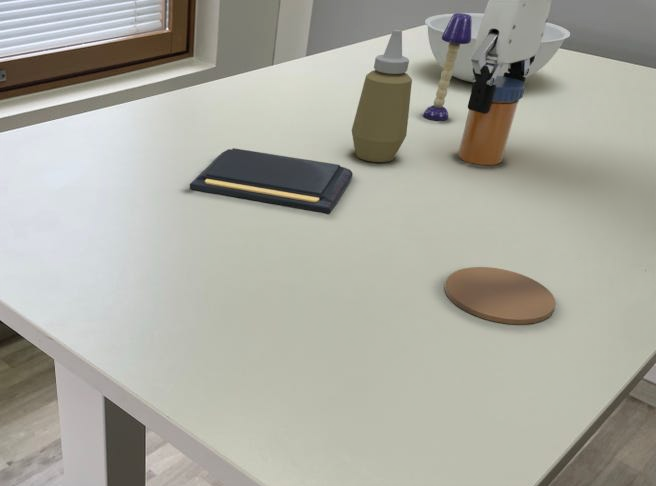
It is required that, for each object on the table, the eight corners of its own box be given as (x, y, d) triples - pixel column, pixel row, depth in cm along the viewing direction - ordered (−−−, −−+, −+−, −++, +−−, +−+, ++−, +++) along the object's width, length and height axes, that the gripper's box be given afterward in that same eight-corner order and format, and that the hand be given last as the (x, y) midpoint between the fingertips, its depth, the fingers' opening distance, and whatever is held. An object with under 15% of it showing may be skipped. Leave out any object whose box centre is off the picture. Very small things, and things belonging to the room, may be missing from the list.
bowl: (412, 89, 142) (423, 35, 136) (416, 57, 163) (426, 9, 157) (561, 104, 135) (579, 47, 130) (545, 69, 157) (561, 19, 151)
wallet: (357, 163, 103) (330, 202, 92) (355, 175, 104) (328, 215, 93) (226, 141, 109) (186, 175, 98) (225, 153, 111) (186, 188, 99)
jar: (510, 159, 111) (530, 87, 105) (486, 168, 107) (506, 95, 101) (473, 147, 115) (490, 78, 109) (449, 156, 112) (466, 85, 105)
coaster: (573, 301, 76) (575, 296, 76) (517, 336, 71) (519, 331, 70) (481, 262, 83) (482, 257, 83) (423, 291, 78) (425, 286, 77)
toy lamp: (442, 112, 130) (466, 11, 120) (456, 120, 126) (482, 16, 116) (418, 114, 129) (440, 12, 119) (432, 122, 125) (456, 17, 115)
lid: (488, 85, 110) (491, 72, 109) (531, 96, 105) (535, 82, 104) (461, 93, 106) (464, 79, 105) (504, 104, 102) (508, 90, 101)
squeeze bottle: (388, 170, 106) (413, 39, 96) (338, 157, 110) (358, 30, 99) (409, 155, 111) (436, 30, 101) (361, 143, 115) (382, 22, 105)
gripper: (538, -37, 103) (502, 91, 113) (467, -28, 94) (435, 110, 105) (589, -30, 98) (547, 103, 109) (520, -20, 89) (481, 124, 100)
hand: (492, 105), depth 107 cm, fingers closed on lid, 7 cm apart
